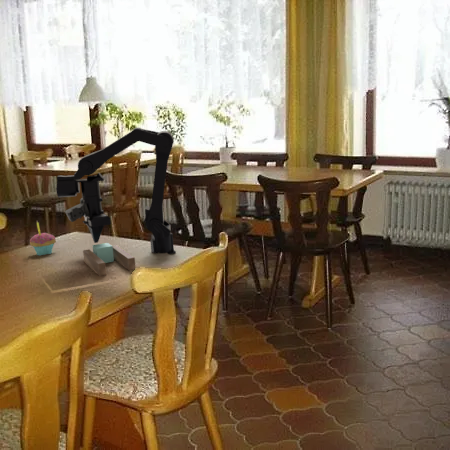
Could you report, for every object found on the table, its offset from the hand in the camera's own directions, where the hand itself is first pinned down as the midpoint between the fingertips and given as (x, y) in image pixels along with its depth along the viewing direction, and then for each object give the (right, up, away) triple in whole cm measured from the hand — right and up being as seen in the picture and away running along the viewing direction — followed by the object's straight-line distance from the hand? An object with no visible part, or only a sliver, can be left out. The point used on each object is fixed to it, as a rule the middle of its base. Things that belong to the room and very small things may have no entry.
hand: (96, 242), depth 211 cm
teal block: (+4, -6, -6) cm, 9 cm away
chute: (+6, -7, -11) cm, 15 cm away
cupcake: (-19, -4, +9) cm, 22 cm away
